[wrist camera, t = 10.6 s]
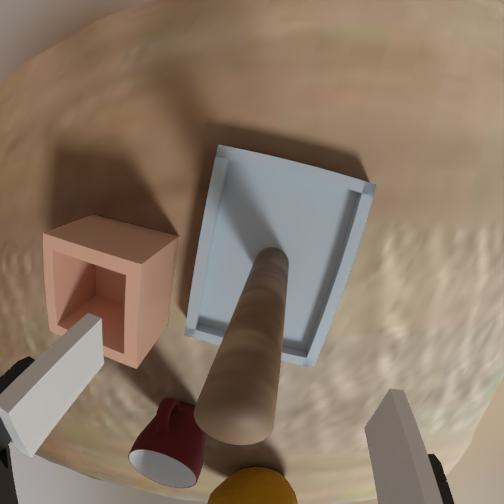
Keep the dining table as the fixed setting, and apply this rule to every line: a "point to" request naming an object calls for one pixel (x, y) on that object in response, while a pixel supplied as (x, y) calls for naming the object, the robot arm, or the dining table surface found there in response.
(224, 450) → the dining table surface
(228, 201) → the tray
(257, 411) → the dowel
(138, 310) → the pink open square box
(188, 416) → the mug
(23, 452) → the robot arm
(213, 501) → the apple
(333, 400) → the dining table surface
